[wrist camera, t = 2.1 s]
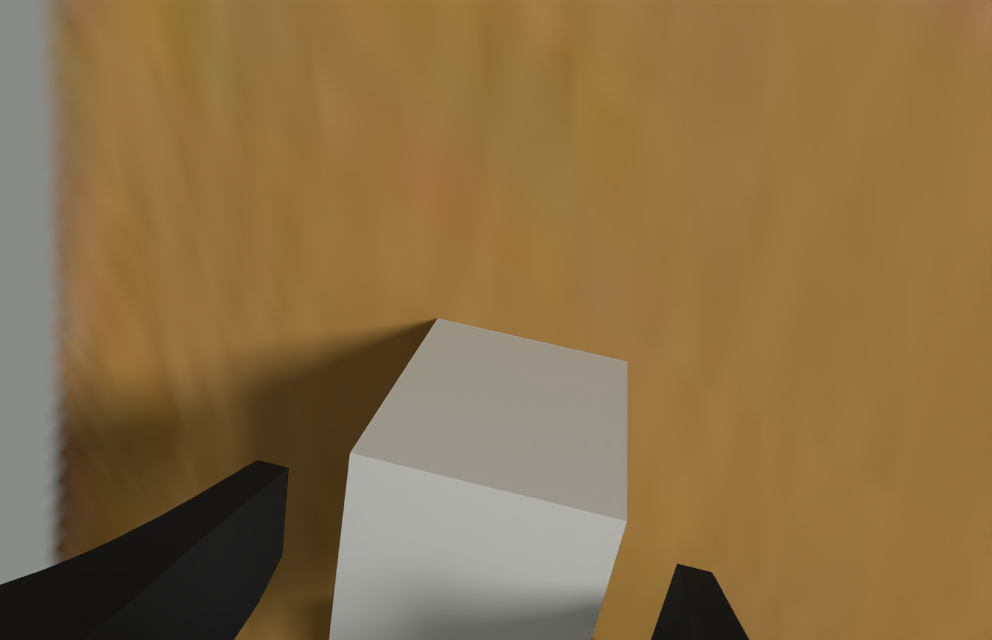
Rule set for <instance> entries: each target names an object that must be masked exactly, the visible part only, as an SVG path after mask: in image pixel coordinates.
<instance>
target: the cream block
mask: <svg viewBox="0 0 992 640" xmlns="http://www.w3.org/2000/svg"><path fill="white" fill-rule="evenodd" d="M626 522H627V361H622V360H618V359H614V358H609V357H605V356H601V355H596V354H592V353H587V352H583V351H579V350H574V349H570V348H565V347H561V346H557V345H552V344H548V343H544V342H539V341H535V340H530V339H526V338H522V337H517V336H513V335H508V334H504V333H500V332H495V331H491V330H487V329H482V328H478V327H473V326H469V325H465V324H460V323H456V322H451V321H447V320H443V319H437V320H436V322H435V323H434V325H433V326H432V328H431V329H430V331H429V333H428V334H427V336H426V337H425V339H424V340H423V342H422V343H421V345H420V346H419V348H418V349H417V351H416V352H415V354H414V356H413V357H412V359H411V360H410V362H409V363H408V365H407V366H406V368H405V369H404V371H403V372H402V374H401V375H400V377H399V379H398V380H397V382H396V383H395V385H394V386H393V388H392V389H391V391H390V392H389V394H388V395H387V397H386V398H385V400H384V402H383V403H382V405H381V406H380V408H379V409H378V411H377V412H376V414H375V415H374V417H373V418H372V420H371V422H370V423H369V425H368V426H367V428H366V429H365V431H364V432H363V434H362V435H361V437H360V438H359V440H358V441H357V443H356V445H355V446H354V448H353V449H352V451H351V452H350V458H349V467H348V476H347V484H346V493H345V502H344V511H343V520H342V529H341V538H340V547H339V555H338V564H337V573H336V582H335V591H334V600H333V609H332V618H331V626H330V635H329V640H591V639H592V636H593V632H594V629H595V626H596V622H597V619H598V616H599V612H600V609H601V606H602V602H603V599H604V596H605V592H606V589H607V586H608V582H609V579H610V576H611V572H612V569H613V566H614V562H615V559H616V556H617V552H618V549H619V546H620V542H621V539H622V536H623V532H624V529H625V526H626Z"/></svg>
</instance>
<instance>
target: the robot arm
mask: <svg viewBox="0 0 992 640" xmlns="http://www.w3.org/2000/svg"><path fill="white" fill-rule="evenodd" d="M288 471H289V468H287V467H283V466H279V465H275V464H271V463H267V462H263V461H259V460H257V461H255V462H253V463H252V464H250V465H248V466H246V467H245V468H243V469H241V470H239V471H238V472H236V473H234V474H233V475H231V476H229V477H227V478H226V479H224V480H222V481H221V482H219V483H217V484H216V485H214V486H212V487H211V488H209V489H207V490H205V491H204V492H202V493H200V494H199V495H197V496H195V497H193V498H192V499H190V500H188V501H186V502H185V503H183V504H181V505H179V506H177V507H176V508H174V509H172V510H170V511H169V512H167V513H165V514H163V515H161V516H159V517H157V518H156V519H154V520H152V521H150V522H148V523H146V524H144V525H142V526H140V527H138V528H136V529H134V530H132V531H130V532H128V533H126V534H124V535H122V536H120V537H118V538H116V539H114V540H112V541H110V542H108V543H106V544H104V545H101V546H99V547H97V548H95V549H93V550H90V551H88V552H86V553H83V554H81V555H79V556H76V557H74V558H71V559H69V560H66V561H64V562H62V563H59V564H57V565H54V566H52V567H49V568H47V569H44V570H41V571H39V572H36V573H33V574H30V575H27V576H24V577H21V578H18V579H15V580H13V581H10V582H7V583H4V584H1V585H0V640H234V639H235V637H236V636H237V634H238V633H239V631H240V630H241V628H242V627H243V625H244V624H245V622H246V621H247V619H248V618H249V616H250V615H251V613H252V612H253V610H254V609H255V607H256V606H257V604H258V602H259V600H260V598H261V597H262V595H263V593H264V591H265V589H266V587H267V585H268V583H269V581H270V579H271V577H272V575H273V573H274V571H275V569H276V567H277V565H278V563H279V561H280V559H281V557H282V552H283V538H284V525H285V511H286V498H287V484H288ZM651 640H749V638H748V636H747V635H746V633H745V631H744V629H743V628H742V626H741V624H740V622H739V620H738V619H737V617H736V615H735V613H734V611H733V610H732V608H731V606H730V604H729V602H728V600H727V598H726V597H725V595H724V593H723V591H722V589H721V587H720V586H719V584H718V582H717V580H716V578H715V577H714V575H713V573H712V572H709V571H705V570H700V569H696V568H692V567H688V566H684V565H680V564H677V566H676V569H675V572H674V575H673V578H672V580H671V583H670V586H669V589H668V592H667V595H666V598H665V601H664V604H663V607H662V610H661V612H660V615H659V618H658V621H657V624H656V627H655V630H654V633H653V636H652V639H651Z"/></svg>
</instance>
